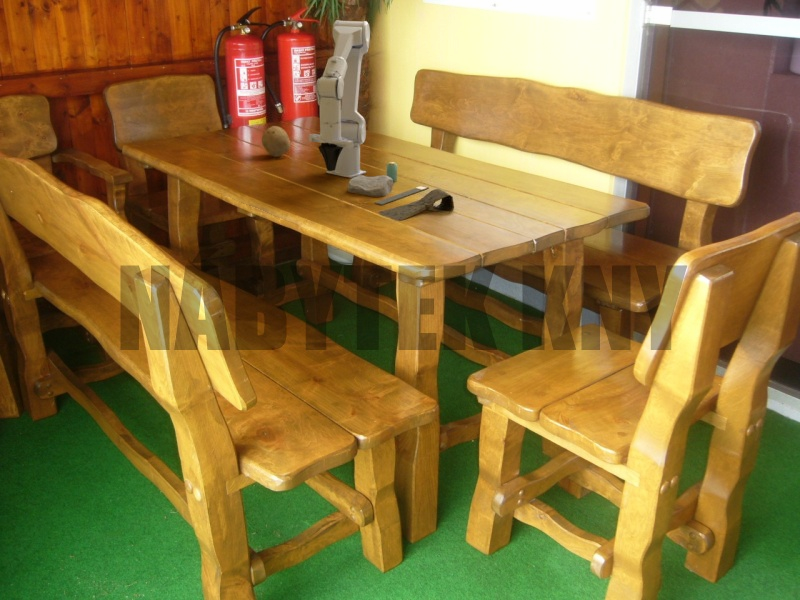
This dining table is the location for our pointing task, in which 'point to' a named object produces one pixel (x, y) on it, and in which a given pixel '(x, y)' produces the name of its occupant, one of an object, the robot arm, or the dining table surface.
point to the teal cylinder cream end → (392, 171)
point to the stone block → (371, 185)
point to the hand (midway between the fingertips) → (331, 170)
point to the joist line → (401, 195)
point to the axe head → (422, 205)
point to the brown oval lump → (276, 141)
